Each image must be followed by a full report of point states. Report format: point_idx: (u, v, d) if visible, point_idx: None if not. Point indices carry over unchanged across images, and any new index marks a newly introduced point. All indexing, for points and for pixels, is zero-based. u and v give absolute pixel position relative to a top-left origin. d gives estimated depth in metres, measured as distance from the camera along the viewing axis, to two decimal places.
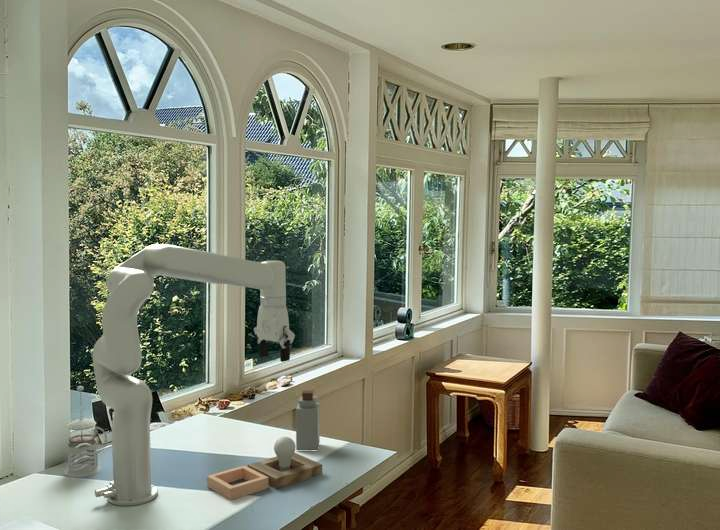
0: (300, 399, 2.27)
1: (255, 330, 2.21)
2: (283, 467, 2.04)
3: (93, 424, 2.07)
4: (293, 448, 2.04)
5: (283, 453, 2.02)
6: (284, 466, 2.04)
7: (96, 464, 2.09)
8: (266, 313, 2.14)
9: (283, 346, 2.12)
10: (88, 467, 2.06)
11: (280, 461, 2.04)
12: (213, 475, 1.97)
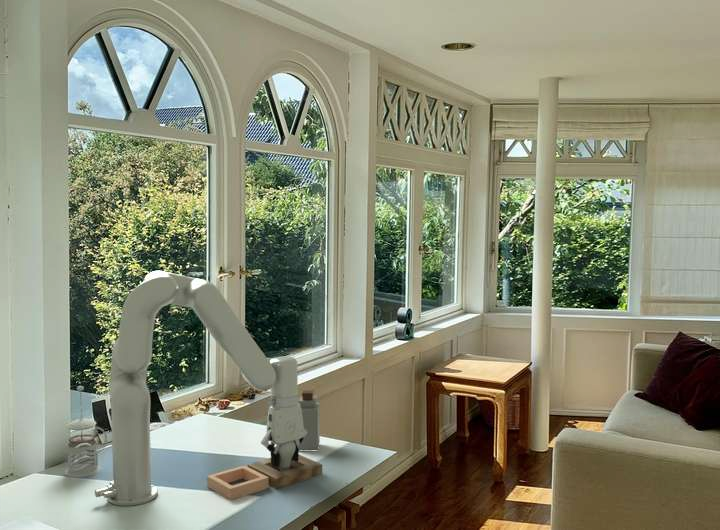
0: (300, 399, 2.27)
1: (266, 443, 2.00)
2: (283, 467, 2.04)
3: (93, 424, 2.07)
4: (293, 448, 2.04)
5: (283, 453, 2.02)
6: (284, 466, 2.04)
7: (96, 464, 2.09)
8: (290, 413, 2.02)
9: (298, 445, 2.07)
10: (88, 467, 2.06)
11: (280, 461, 2.04)
12: (213, 475, 1.97)
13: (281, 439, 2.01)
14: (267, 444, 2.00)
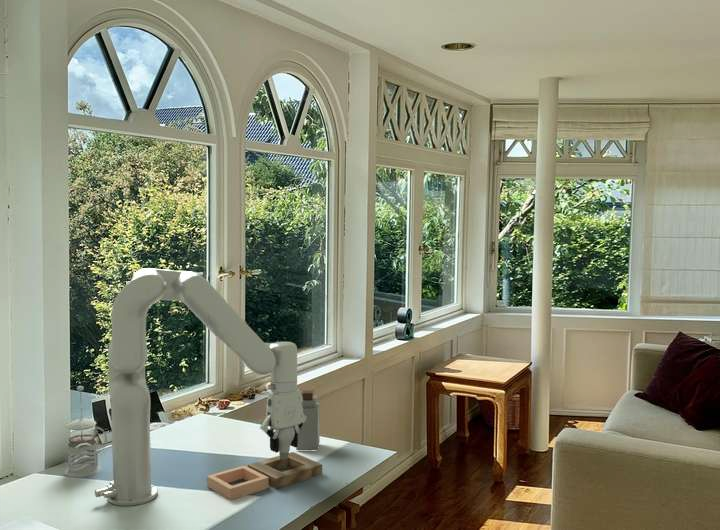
0: None
1: (265, 428, 2.00)
2: (282, 452, 2.04)
3: (93, 424, 2.07)
4: (292, 433, 2.03)
5: (282, 438, 2.02)
6: (283, 451, 2.04)
7: (96, 464, 2.09)
8: (289, 398, 2.02)
9: (298, 430, 2.06)
10: (88, 467, 2.06)
11: (279, 446, 2.04)
12: (213, 475, 1.97)
13: (280, 424, 2.00)
14: (266, 429, 2.00)
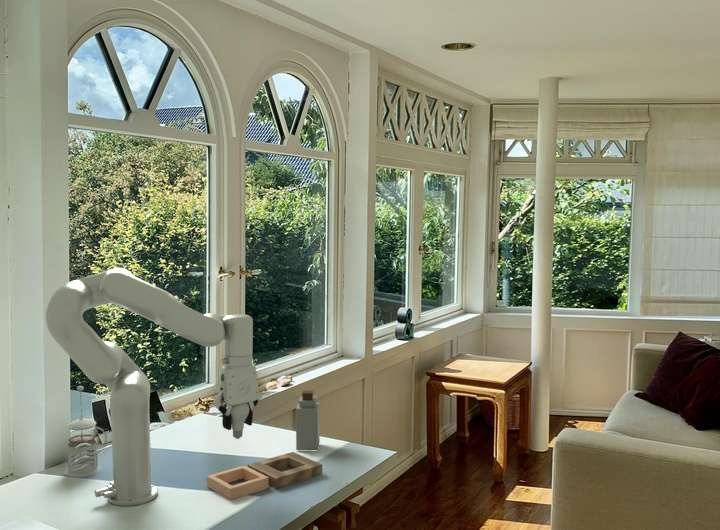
0: (300, 399, 2.27)
1: (217, 404, 1.90)
2: (236, 430, 1.94)
3: (93, 424, 2.07)
4: (246, 410, 1.94)
5: (236, 415, 1.92)
6: (237, 429, 1.94)
7: (96, 464, 2.09)
8: (243, 373, 1.92)
9: (252, 408, 1.97)
10: (88, 467, 2.06)
11: (232, 424, 1.94)
12: (213, 475, 1.97)
13: (233, 400, 1.91)
14: (218, 405, 1.90)
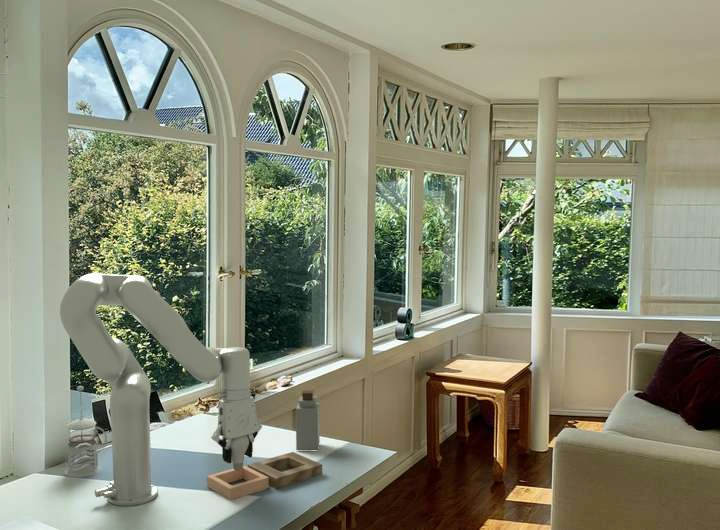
0: (300, 399, 2.27)
1: (216, 438, 1.91)
2: (236, 463, 1.95)
3: (93, 424, 2.07)
4: (246, 443, 1.94)
5: (235, 448, 1.93)
6: (237, 462, 1.95)
7: (96, 464, 2.09)
8: (242, 407, 1.93)
9: (252, 440, 1.97)
10: (88, 467, 2.06)
11: (233, 457, 1.95)
12: (213, 475, 1.97)
13: (232, 434, 1.91)
14: (218, 439, 1.91)
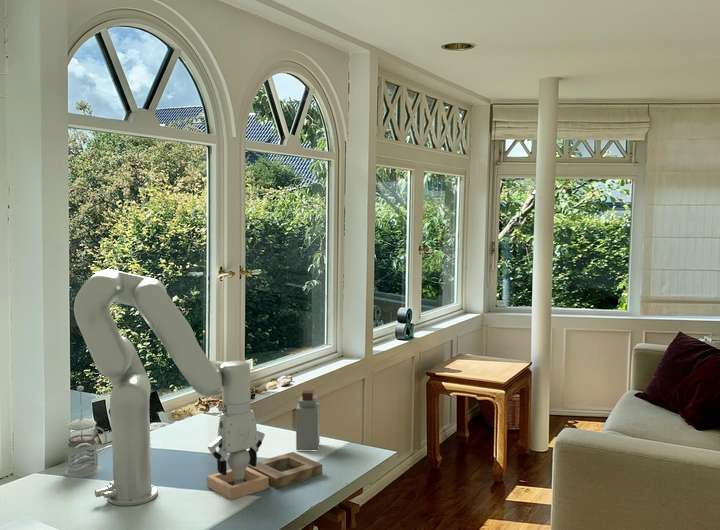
0: (300, 399, 2.27)
1: (213, 448, 1.90)
2: (237, 479, 1.95)
3: (93, 424, 2.07)
4: (247, 459, 1.95)
5: (236, 465, 1.93)
6: (237, 478, 1.95)
7: (96, 464, 2.09)
8: (242, 420, 1.93)
9: (256, 449, 1.99)
10: (88, 467, 2.06)
11: (233, 473, 1.95)
12: (213, 475, 1.97)
13: (232, 447, 1.92)
14: (214, 450, 1.90)
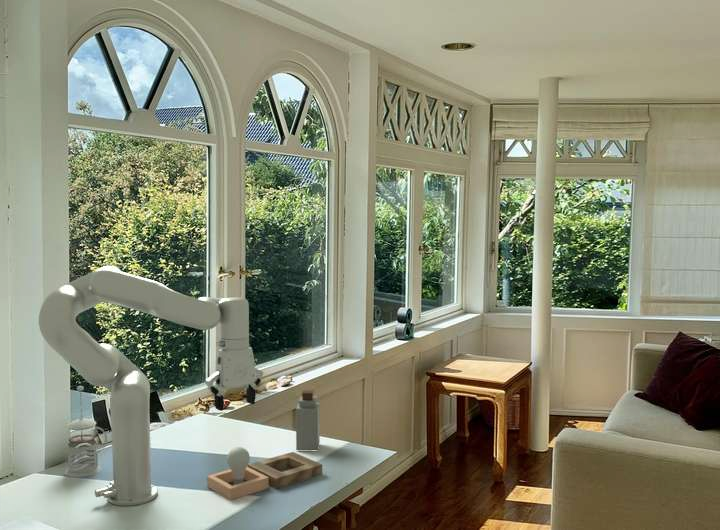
0: (300, 399, 2.27)
1: (210, 383, 1.89)
2: (237, 479, 1.95)
3: (93, 424, 2.07)
4: (247, 459, 1.95)
5: (236, 465, 1.93)
6: (237, 478, 1.95)
7: (96, 464, 2.09)
8: (240, 356, 1.92)
9: (255, 387, 1.98)
10: (88, 467, 2.06)
11: (233, 473, 1.95)
12: (213, 475, 1.97)
13: (230, 383, 1.91)
14: (211, 384, 1.89)
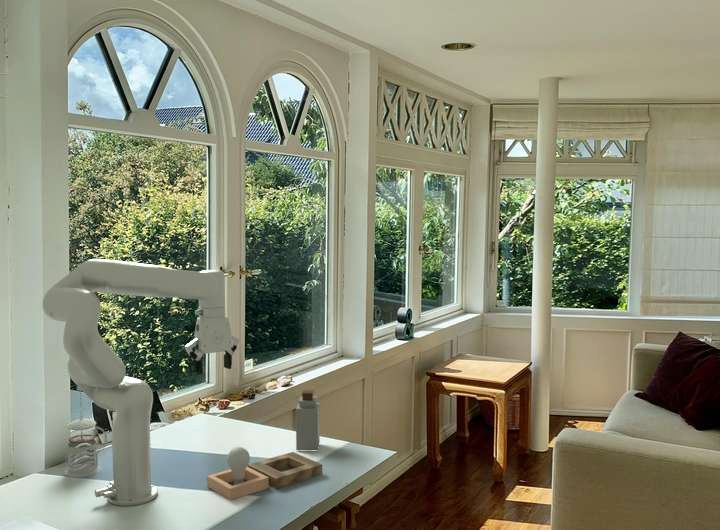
0: (300, 399, 2.27)
1: (189, 348, 2.05)
2: (237, 479, 1.95)
3: (93, 424, 2.07)
4: (247, 459, 1.95)
5: (236, 465, 1.93)
6: (237, 478, 1.95)
7: (96, 464, 2.09)
8: (217, 324, 2.08)
9: (231, 353, 2.13)
10: (88, 467, 2.06)
11: (233, 473, 1.95)
12: (213, 475, 1.97)
13: (208, 348, 2.06)
14: (190, 350, 2.05)
